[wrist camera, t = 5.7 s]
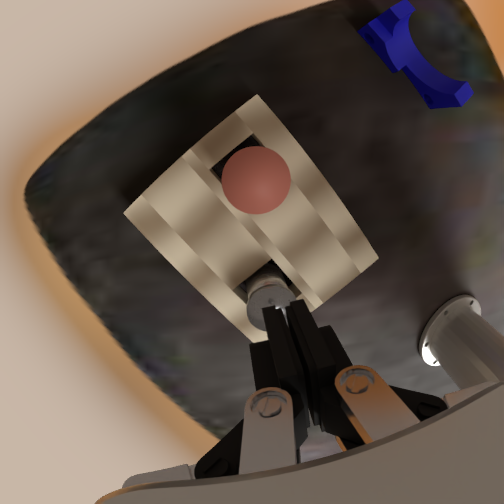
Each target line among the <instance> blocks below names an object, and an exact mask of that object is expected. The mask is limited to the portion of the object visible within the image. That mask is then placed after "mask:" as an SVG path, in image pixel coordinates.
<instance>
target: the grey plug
mask: <svg viewBox="0 0 504 504" xmlns="http://www.w3.org/2000/svg"><path fill="white" fill-rule="evenodd" d="M246 287H247V294H248V301H247V305H246V311H247V317H248V319H249V321H250V323H251V324H252V325H253V326H254V327H255V328H257V329H259V330H262V331H266V327H265V323H264V318H263V313H262V308H264V307H269V306H273V305H275V306H276V309H277V308H282V311H283V314H284V317H285V319H286V322H287V316H286V310H285V306H290V302H291V301H295V300H297V299H296V297H295V295H294V294H293V292H292V291H291V290H290V289H288V287H287V284H286V282H285V279H284V277H283V275H282V272H281V271H280V269H279V268H278V267H277V266H275V265H273V264H270V263H266V264H264V265H263V266H262V267H261V268H259V269H258V270H257V271H256V272H254V273H253V274H252V275H251V276H249V277H248V278H247V279H246ZM287 325H288V323H287Z"/></svg>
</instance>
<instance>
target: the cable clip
mask: <svg viewBox="0 0 504 504" xmlns="http://www.w3.org/2000/svg"><path fill="white" fill-rule="evenodd" d="M413 11H415V8H414V7H413V6H412V5H411V4H410V3H409V2H408V0H402V1H401V2H399V3H397V4H396V5H394V6H392V7H391V8H389V9H388V10H386V11H385V12H384V13H382V14H381V15H379V16H378V17H377V18H375V19H374V20H372V21H371V22H369V23H368V24H366V25H365V26H364V27H362V28H361V29H360V30H358V31H357V32H358V33H359V34H360V35H361V36H362V38H363V39H364V40H365V41H366V42H367V43H368V44H369V45H370V46H371V48H372V49H373V50H374V51H375V52H376V53H377V55H378V56H379V57H380V58H381V59H382V60H383V62H384V63H385V64H386V65H387V67H388V68H389V69H390V70H391V72H392V73H394V72H397V71H399V70H400V69H402V70H403V71H404V73H405V74H406V75H407V77H408V78H409V79H410V81H411V82H412V83H413V85H414V86H415V88H416V89H417V90H418V92H419V93H420V95H421V96H422V98H423V99H424V101H425V102H426V104H427V105H428V107H429V108H430V109H435V108H448V107H462V106H463V105H464V103H465V102H466V101H467V100H468V99H469V98H470V97H471V96H472V95H473V94H474V93H473V91H472V89H471V87H470V86H469V84H468V82H467V81H457V80H454V79H451V78H449V77H447V76H445V75H443V74H442V73H440V72H439V71H437V70H436V69H435V68H434V67H432V66H431V65H430V64H429V63H428V62H427V61H426V60H425V59H424V57H423V56H422V55H421V54H420V52H419V51H418V50H417V48H416V46H415V45H414V43H413V41H412V39H411V36H410V33H409V28H408V20H409V17H410V15H411V13H412V12H413Z"/></svg>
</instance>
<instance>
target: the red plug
mask: <svg viewBox="0 0 504 504" xmlns="http://www.w3.org/2000/svg"><path fill="white" fill-rule="evenodd" d="M290 185H291V175H290V171H289V168H288V166H287V164H286V162H285V161H284V159H283V158H282V157H281V156H280V155H279V154H278V153H276V152H275V151H273V150H271V149H269V148H266V147H261V146H252V147H247V148H244V149H241V150H239V151H237V152H236V153H235V154H233V155H232V156H231V157H230V158H229V160H228V161H227V163H226V164H225V167H224V169H223V172H222V188H223V192H224V194H225V196H226V198H227V200H228V201H229V202H230V203H231V204H232V205H233V206H234V207H235V208H236V209H238V210H240V211H242V212H244V213H248V214H264V213H267V212H270V211H272V210H274V209H275V208H277V207H278V206H279V205H280V204H281V203H282V202H283V201H284V200H285V198H286V197H287V195H288V192H289V189H290Z"/></svg>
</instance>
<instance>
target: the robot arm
mask: <svg viewBox="0 0 504 504" xmlns="http://www.w3.org/2000/svg"><path fill="white" fill-rule="evenodd" d="M285 310H286V316H287V322H286V319H285V317H284V314H283V311H282V308H277V309H276V306H275V305H273V306H269V307H264V308H262V313H263V318H264V323H265V327H266V332H267V337H268V340H265V341H261V342H256V343H251V344H249V346H250V353H251V360H252V366H253V373H254V380H255V386H256V392H254V393H253V394H252V395H250V397H249V398H248V399H247V401H246V405H245V413H244V418H243V419H242V420H241V421H240V422H239V423H238V424H237V425H236V426H235V427H234V428H233V429H232V430H231V431H230V432H229V433H228V434H227V435H226V436H225V437H224V438H223V439H222V440H221V441H219V442H218V443H217V444H216V445H215V446H214V447H213V448H212V449H211V450H210V451H209V452H207V453H206V454H205V455H204V456H203V457H202V458H201V459H200V460H199V461H198V462H197V464H195V465H191V466H188V465H187V464H184V465H180V466H176V467H172V468H168V469H163V470H158V471H154V472H148V473H143V474H138V475H134V476H132V477H130V478H128V479H127V480H126V481H125V483H124V484H123V487H122V489H119V490H116V491H113V492H111V493H109V494H107V495H105V496H103V497H102V498H100V499H99V500H97V502H96V503H95V504H504V336H503V335H502V334H501V333H499V332H498V331H497V330H496V329H495V328H494V327H493V326H491V325H490V324H489V323H488V322H487V321H486V320H484V319H483V318H482V317H481V307H480V304H479V302H478V301H477V300H476V299H475V298H473V297H472V296H470V295H459V296H456V297H454V298H452V299H450V300H449V301H448V302H446V303H445V304H444V305H442V306H441V307H440V308H439V309H438V310H437V311H436V312H435V314H434V315H433V316H432V317H431V319H430V320H429V322H428V323H427V325H426V327H425V329H424V331H423V333H422V336H421V339H420V343H419V353H420V356H421V358H422V359H423V360H424V362H426V363H427V364H428V365H431V366H437V365H441V366H442V367H443V369H444V370H445V371H446V372H447V374H448V375H449V376H450V377H451V378H452V380H453V381H454V382H455V383H456V385H457V386H458V387H459V388H460V390H459V391H456V392H452V393H448V394H445V395H444V398H439V397H436V396H433V395H429V394H424V393H420V392H415V391H411V390H406V389H402V388H398V387H394V386H390V385H388V384H387V383H386V382H385V381H384V380H383V379H382V378H381V376H380V375H379V374H378V373H377V372H376V371H375V370H373V369H372V368H370V367H368V366H363V365H354V366H353V365H352V363H351V361H350V359H349V357H348V356H347V354H346V352H345V350H344V348H343V347H342V345H341V343H340V341H339V339H338V338H337V336H336V334H335V332H334V330H333V329H332V327H331V326H330V325H328V326H324V327H320V328H318V327H317V325H316V323H315V321H314V319H313V317H312V315H311V313H310V311H309V309H308V307H307V305H306V303H305V301H304V299H300V300H295V301H291V302H290V306H285ZM287 323H288V325H287ZM308 408H309V411H310V414H311V417H312V420H313V424H314V426H316V425H320V428H321V431H322V432H324V431H326V432H327V433H330V434H333V435H335V439H336V441H337V443H338V445H339V446H340V448H341V450H342V451H343V452H341V453H337V454H334V455H331V456H327V457H323V458H320V459H316V460H312V461H308V462H304V463H301V456H300V446H301V445H302V444H303V442H304V441H305V440H306V438H307V437H308V434H307V428H308V427H310V421H309V411H308Z"/></svg>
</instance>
